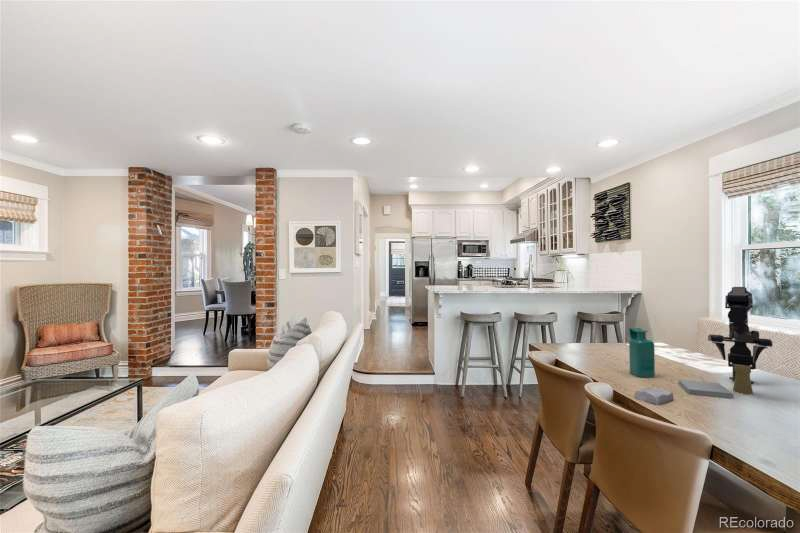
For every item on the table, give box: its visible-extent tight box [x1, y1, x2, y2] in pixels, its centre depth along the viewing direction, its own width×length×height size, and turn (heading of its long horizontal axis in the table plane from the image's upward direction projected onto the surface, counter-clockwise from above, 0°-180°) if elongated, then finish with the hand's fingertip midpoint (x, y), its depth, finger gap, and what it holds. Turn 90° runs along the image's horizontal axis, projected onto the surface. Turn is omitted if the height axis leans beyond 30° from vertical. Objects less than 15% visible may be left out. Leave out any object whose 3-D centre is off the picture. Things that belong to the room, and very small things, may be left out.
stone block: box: [634, 387, 674, 406], centre depth 143 cm, size 12×5×10 cm
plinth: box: [678, 379, 734, 399], centre depth 151 cm, size 14×14×2 cm
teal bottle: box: [628, 327, 656, 378], centre depth 175 cm, size 10×8×22 cm
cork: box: [732, 365, 754, 395], centre depth 149 cm, size 6×6×11 cm
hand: (739, 361), depth 148 cm, fingers open, 9 cm apart
